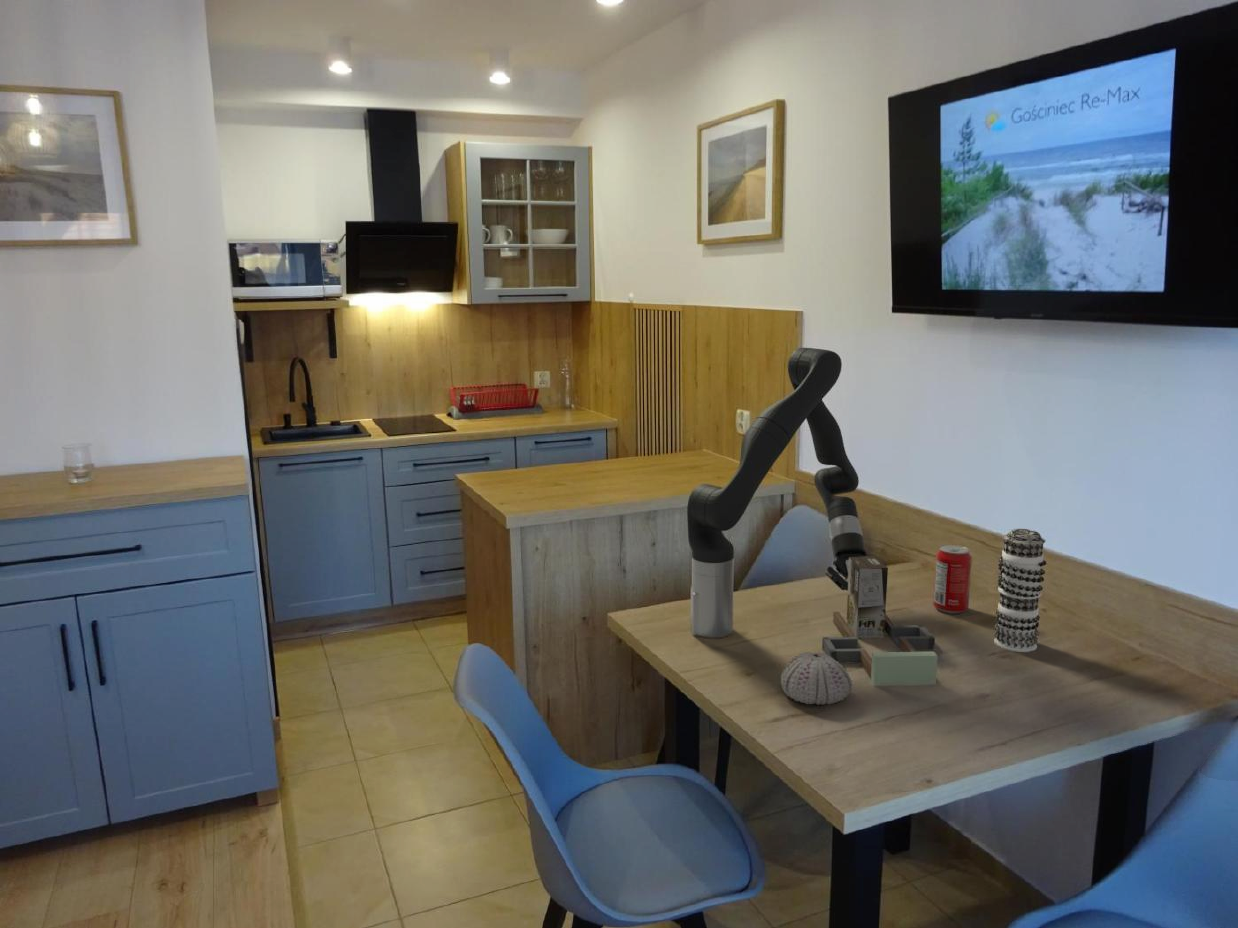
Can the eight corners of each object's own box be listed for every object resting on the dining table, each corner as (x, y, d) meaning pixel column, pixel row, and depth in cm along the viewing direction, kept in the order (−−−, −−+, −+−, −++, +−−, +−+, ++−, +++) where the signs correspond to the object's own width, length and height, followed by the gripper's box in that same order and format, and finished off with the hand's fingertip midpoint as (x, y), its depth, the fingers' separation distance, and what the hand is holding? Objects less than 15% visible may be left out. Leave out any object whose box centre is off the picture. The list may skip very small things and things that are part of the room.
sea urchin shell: (766, 697, 167) (767, 657, 165) (801, 673, 177) (802, 635, 175) (830, 718, 158) (832, 676, 157) (863, 692, 168) (865, 652, 167)
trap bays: (830, 662, 181) (831, 651, 180) (815, 637, 194) (816, 626, 194) (944, 661, 181) (945, 649, 181) (921, 635, 194) (922, 625, 194)
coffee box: (885, 638, 193) (889, 567, 190) (856, 638, 193) (859, 568, 190) (873, 622, 202) (877, 555, 199) (845, 623, 202) (848, 555, 199)
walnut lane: (874, 684, 171) (875, 672, 170) (833, 621, 203) (833, 611, 202) (933, 683, 171) (934, 671, 171) (882, 621, 203) (883, 610, 202)
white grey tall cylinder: (1017, 633, 195) (1026, 524, 190) (1048, 649, 186) (1059, 535, 181) (982, 638, 192) (990, 528, 187) (1013, 655, 184) (1022, 539, 179)
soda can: (928, 611, 209) (932, 550, 206) (938, 601, 215) (941, 542, 212) (963, 617, 204) (967, 555, 202) (971, 607, 211) (976, 547, 208)
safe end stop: (873, 685, 170) (875, 656, 169) (870, 681, 172) (872, 652, 171) (935, 684, 171) (937, 655, 169) (932, 680, 172) (933, 651, 171)
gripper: (822, 531, 208) (833, 599, 198) (878, 530, 208) (892, 598, 199) (816, 546, 214) (826, 612, 205) (870, 545, 214) (883, 611, 205)
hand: (859, 605), depth 202 cm, fingers closed
